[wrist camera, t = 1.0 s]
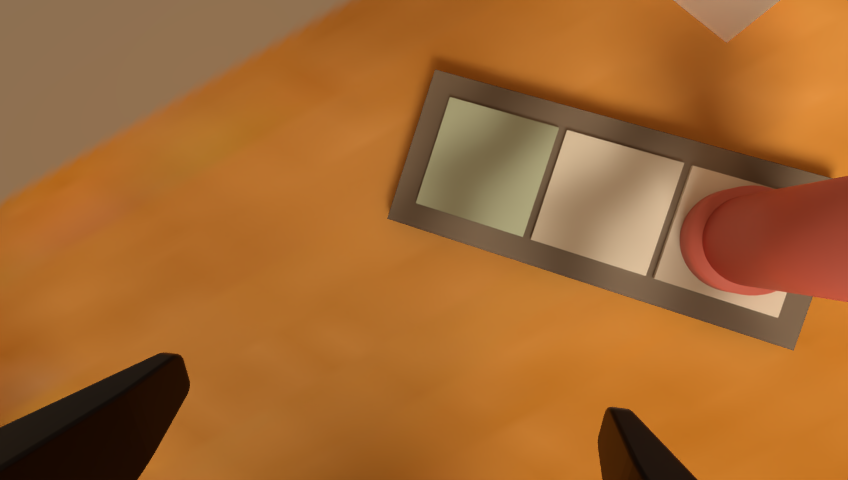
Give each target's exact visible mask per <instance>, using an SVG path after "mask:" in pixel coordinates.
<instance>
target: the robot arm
mask: <svg viewBox="0 0 848 480" xmlns="http://www.w3.org/2000/svg"><path fill="white" fill-rule="evenodd" d="M189 388H190V381H189V377H188V374H187V370H186V367H185V363H184V360H183V358H182V356H181V355H179V354H173V353H159V354H157V355H155V356H153V357H150V358H148V359H146V360H144V361H142V362H140V363H138V364H135V365H133V366H131V367H129V368H127V369H125V370H123V371H120V372H118V373H116V374H114V375H112V376H110V377H107V378H105V379H103V380H101V381H99V382H97V383H95V384H92V385H90V386H88V387H86V388H84V389H82V390H80V391H77V392H75V393H73V394H71V395H69V396H67V397H65V398H62V399H60V400H58V401H56V402H54V403H52V404H50V405H47V406H45V407H43V408H41V409H39V410H37V411H35V412H32V413H30V414H28V415H26V416H24V417H22V418H20V419H17V420H15V421H13V422H11V423H9V424H7V425H5V426H2V427H0V480H137V479H138V478H139V476H140V475H141V473H142V472H143V470H144V469H145V467H146V466H147V464H148V463H149V461H150V460H151V458H152V456H153V455H154V453H155V451H156V450H157V448H158V446H159V444H160V442H161V441H162V439H163V437H164V435H165V433H166V432H167V430H168V428H169V426H170V425H171V423H172V421H173V419H174V417H175V416H176V414H177V412H178V410H179V408H180V407H181V405H182V403H183V401H184V399H185V398H186V396H187V394H188V391H189ZM598 451H599V458H600V465H601V472H602V479H603V480H697V479H696V478H695V477H694V476H693V475H692V473H691V472H690V471H689V470H688V469H687V468H686V467H685V466H684V465H683V464H682V463H681V462H680V461H679V460H678V459H677V458H676V457H675V456H674V455H673V454H672V453H671V451H670V450H669V449H668V448H667V447H666V446H665V445H664V444H663V443H662V442H661V441H660V440H659V439H658V438H657V437H656V436H655V435H654V434H653V433H652V432H651V431H650V429H649V428H648V427H647V426H646V425H645V424H644V423H643V422H642V421H641V420H640V419H639V418H638V417H637V416H636V415H635V414H634V413H633V412H632V411H631V410H629V409H625V408H617V407H609V408H607V409H606V411H605V414H604V418H603V421H602V425H601V429H600V432H599V436H598Z"/></svg>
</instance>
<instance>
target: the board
mask: <svg viewBox="0 0 848 480" xmlns="http://www.w3.org/2000/svg"><path fill="white" fill-rule="evenodd" d="M829 179H832V178H828V177H825V176H821V175H817V174H814V173H810V172H807V171H803V170H799V169H796V168H792V167H788V166H785V165H781V164H777V163H774V162H770V161H766V160H763V159H759V158H756V157H752V156H748V155H745V154H741V153H737V152H734V151H730V150H726V149H723V148H719V147H716V146H712V145H708V144H705V143H701V142H697V141H694V140H690V139H686V138H683V137H679V136H675V135H672V134H668V133H665V132H661V131H657V130H654V129H650V128H646V127H643V126H639V125H635V124H632V123H628V122H625V121H621V120H617V119H614V118H610V117H606V116H603V115H599V114H595V113H592V112H588V111H584V110H581V109H577V108H574V107H570V106H566V105H563V104H559V103H555V102H552V101H548V100H544V99H541V98H537V97H534V96H530V95H526V94H523V93H519V92H515V91H512V90H508V89H504V88H501V87H497V86H494V85H490V84H486V83H483V82H479V81H475V80H472V79H468V78H464V77H461V76H457V75H453V74H450V73H446V72H443V71H439V70H435V72H434V75H433V78H432V81H431V84H430V87H429V90H428V93H427V97H426V100H425V103H424V106H423V109H422V112H421V115H420V118H419V122H418V125H417V128H416V131H415V134H414V137H413V140H412V143H411V146H410V150H409V153H408V156H407V159H406V162H405V165H404V168H403V171H402V175H401V178H400V181H399V184H398V187H397V190H396V193H395V196H394V200H393V203H392V206H391V209H390V212H389V215H388V218H387V219H390V220H394V221H397V222H400V223H403V224H406V225H409V226H412V227H415V228H418V229H421V230H424V231H427V232H430V233H434V234H437V235H440V236H443V237H446V238H449V239H452V240H455V241H458V242H461V243H464V244H467V245H470V246H474V247H477V248H480V249H483V250H486V251H489V252H492V253H495V254H498V255H501V256H504V257H507V258H510V259H514V260H517V261H520V262H523V263H526V264H529V265H532V266H535V267H538V268H541V269H544V270H547V271H551V272H554V273H557V274H560V275H563V276H566V277H569V278H572V279H575V280H578V281H581V282H584V283H587V284H591V285H594V286H597V287H600V288H603V289H606V290H609V291H612V292H615V293H618V294H621V295H624V296H627V297H631V298H634V299H637V300H640V301H643V302H646V303H649V304H652V305H655V306H658V307H661V308H664V309H667V310H671V311H674V312H677V313H680V314H683V315H686V316H689V317H692V318H695V319H698V320H701V321H704V322H708V323H711V324H714V325H717V326H720V327H723V328H726V329H729V330H732V331H735V332H738V333H741V334H744V335H748V336H751V337H754V338H757V339H760V340H763V341H766V342H769V343H772V344H775V345H778V346H781V347H784V348H788V349H791V350H794V348H795V345H796V342H797V339H798V337H799V334H800V331H801V328H802V325H803V322H804V320H805V317H806V314H807V311H808V308H809V305H810V303H811V300H812V297H813V296H807V295H800V294H794V293H787V292H781V291H775V292H773V293H769V294H765V295H757V296H749V295H741V294H736V293H730V292H725V291H721V290H717V289H715V288H712V287H710V286H708V285H706V284H704V283H703V282H702V281H700V280H699V279H698V278H697V277H696V276H694V275H693V273H692V272H691V271H690V270H689V268H688V267H687V265H686V264H685V261H684V259H683V257H682V253H681V249H680V231H681V227H682V224H683V222H684V219H685V217H686V216H687V214H688V212H689V211H690V210H691V209H692V207H693V206H694V205H695V204H697V203H698V202H699V201H700V200H702V199H703V198H705V197H706V196H708V195H710V194H713V193H715V192H718V191H722V190H726V189H731V188H735V187H740V186H749V185H756V186H764V187H769V188H772V189H780V188H785V187H791V186H796V185H802V184H807V183H812V182H818V181H823V180H829Z"/></svg>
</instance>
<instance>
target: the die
mask: <svg viewBox="0 0 848 480" xmlns="http://www.w3.org/2000/svg"><path fill="white" fill-rule="evenodd" d="M674 1H675V2H676V3H677V4H679V5H680V6H681V7H682V8H684V9H685V10H686V11H687V12H689V13H690V14H691V15H692V16H694V17H695V18H696V19H697V20H699V21H700V22H701V23H702V24H704V25H705V26H706V27H707V28H709V29H710V30H711V31H712V32H714V33H715V34H716V35H717V36H719V37H720V38H721V39H722V40H724V41H725V42H726V43H727V42H729V41H730V40H731V39H732V38H734V37H735V36H736V35H737V34H739V33H740V32H741V31H742V30H743V29H745V28H746V27H747V26H748V25H750V24H751V23H752V22H753V21H755V20H756V19H757V18H758V17H760V16H761V15H762V14H763V13H765V12H766V11H767V10H768V9H770V8H771V7H772V6H773V5H775V4H776V3H777V2H778V1H780V0H674Z"/></svg>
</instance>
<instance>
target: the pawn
mask: <svg viewBox="0 0 848 480" xmlns="http://www.w3.org/2000/svg"><path fill="white" fill-rule="evenodd" d="M680 249H681V253H682V257H683V259H684V261H685V264H686V265H687V267H688V268H689V270H690V271H691V272H692V273H693V275H694V276H696V277H697V278H698V279H699V280H700V281H702V282H703V283H704V284H706V285H708V286H710V287H712V288H715V289H717V290H721V291H725V292H730V293H736V294H741V295H749V296H757V295H765V294H769V293H773V292H775V291H781V292H787V293H794V294H800V295H807V296H813V297H819V298H826V299H832V300H839V301H845V302H848V176H845V177H840V178H834V179H829V180H823V181H818V182H812V183H807V184H802V185H796V186H791V187H785V188H780V189H772V188H769V187H764V186H756V185H749V186H740V187H735V188H731V189H726V190H722V191H718V192H715V193H713V194H710V195H708V196H706V197H705V198H703V199H702V200H700V201H699V202H698V203H697V204H695V205H694V206H693V207H692V209H691V210H690V211H689V212H688V214H687V216H686V217H685V219H684V222H683V224H682V227H681V231H680Z"/></svg>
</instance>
